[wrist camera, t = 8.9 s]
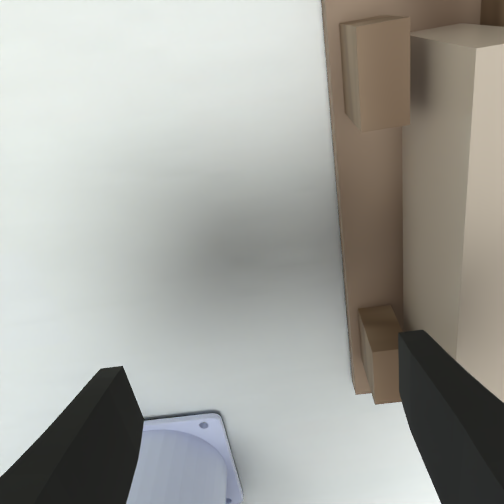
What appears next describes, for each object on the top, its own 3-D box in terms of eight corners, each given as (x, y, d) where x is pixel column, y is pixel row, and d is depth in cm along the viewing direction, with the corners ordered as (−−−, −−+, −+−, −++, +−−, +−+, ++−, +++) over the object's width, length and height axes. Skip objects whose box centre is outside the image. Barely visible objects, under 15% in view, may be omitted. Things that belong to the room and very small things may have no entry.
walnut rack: (352, 380, 24) (368, 443, 21) (316, -59, 15) (334, -78, 12) (485, 365, 24) (524, 427, 20) (535, -103, 14) (624, -137, 11)
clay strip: (403, 347, 22) (449, 454, 17) (401, 33, 15) (476, 48, 10) (445, 342, 22) (505, 449, 17) (461, 23, 15) (568, 32, 10)
